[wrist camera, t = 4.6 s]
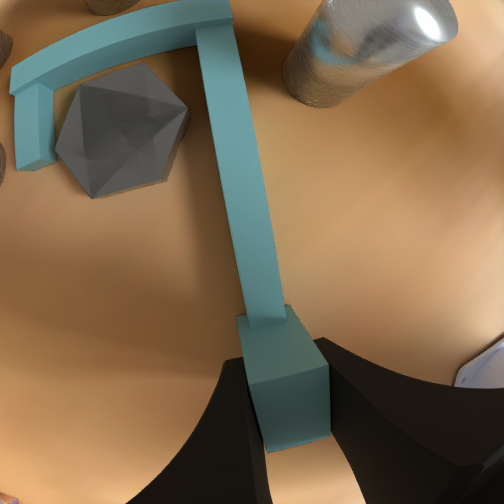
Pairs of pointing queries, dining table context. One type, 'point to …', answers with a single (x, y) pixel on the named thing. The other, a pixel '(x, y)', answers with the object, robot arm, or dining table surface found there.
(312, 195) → the dining table surface
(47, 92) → the hook tool
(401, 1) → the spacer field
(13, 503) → the lily
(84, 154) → the grey flat hexagonal block
